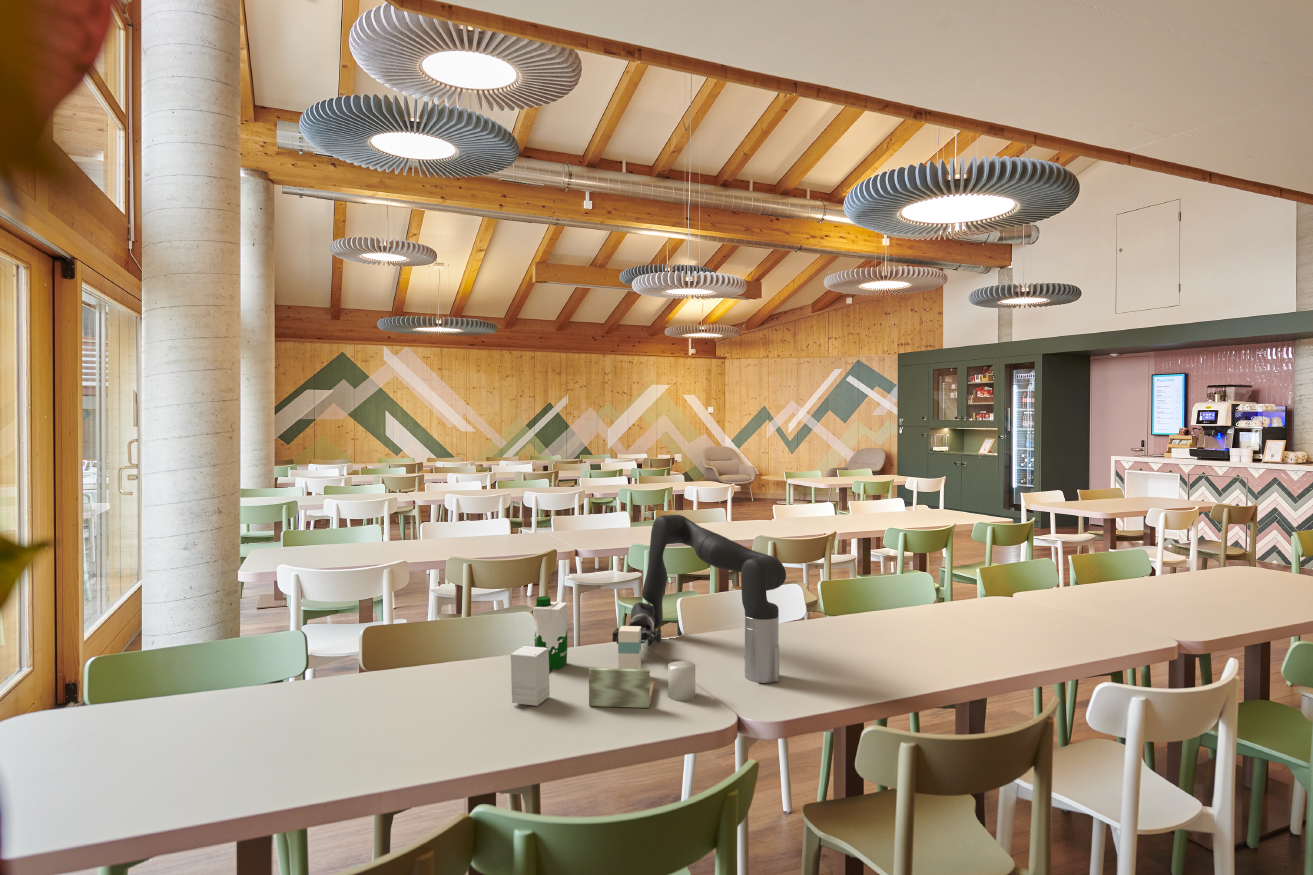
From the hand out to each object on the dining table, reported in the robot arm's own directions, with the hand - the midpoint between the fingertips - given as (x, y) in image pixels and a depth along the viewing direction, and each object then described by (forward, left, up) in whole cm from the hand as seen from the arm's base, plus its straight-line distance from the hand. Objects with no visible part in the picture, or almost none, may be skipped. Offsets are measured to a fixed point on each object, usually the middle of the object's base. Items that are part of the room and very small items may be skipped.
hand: (634, 642), depth 222 cm
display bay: (0, +24, -8) cm, 25 cm away
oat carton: (0, +10, -8) cm, 12 cm away
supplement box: (+23, +28, -8) cm, 37 cm away
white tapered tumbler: (-15, +22, -8) cm, 28 cm away
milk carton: (+24, +1, -8) cm, 25 cm away
